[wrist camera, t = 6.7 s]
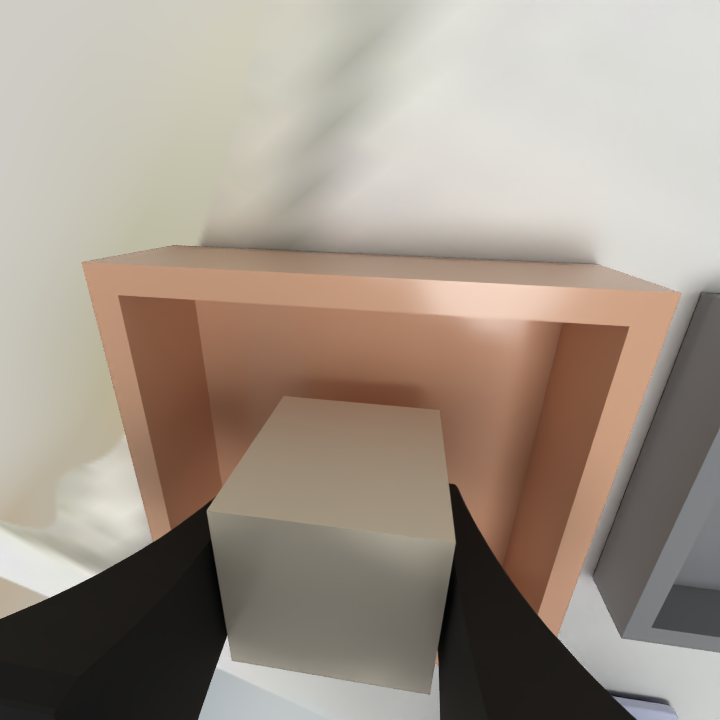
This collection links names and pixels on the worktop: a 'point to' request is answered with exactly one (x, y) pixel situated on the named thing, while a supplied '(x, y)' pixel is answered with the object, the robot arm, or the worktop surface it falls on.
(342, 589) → the stone block
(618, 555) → the tray
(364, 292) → the bin
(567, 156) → the worktop surface
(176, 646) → the robot arm
